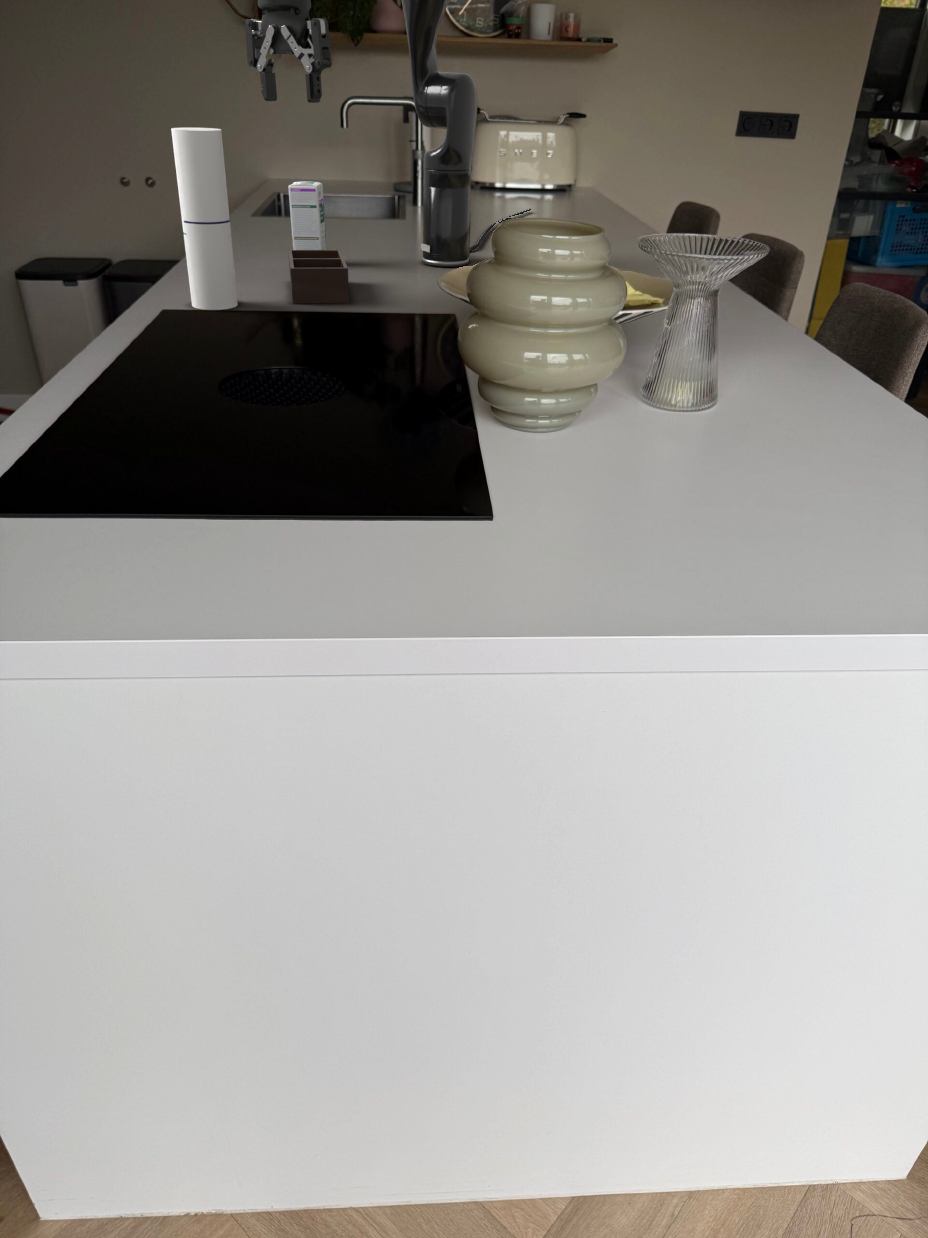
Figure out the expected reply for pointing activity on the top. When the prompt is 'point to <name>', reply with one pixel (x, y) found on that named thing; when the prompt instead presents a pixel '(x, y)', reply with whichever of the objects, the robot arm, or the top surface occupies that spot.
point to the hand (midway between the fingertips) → (291, 101)
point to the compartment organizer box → (318, 276)
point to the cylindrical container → (205, 217)
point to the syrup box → (307, 215)
